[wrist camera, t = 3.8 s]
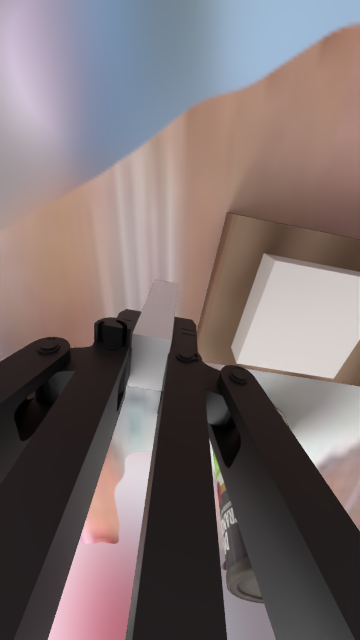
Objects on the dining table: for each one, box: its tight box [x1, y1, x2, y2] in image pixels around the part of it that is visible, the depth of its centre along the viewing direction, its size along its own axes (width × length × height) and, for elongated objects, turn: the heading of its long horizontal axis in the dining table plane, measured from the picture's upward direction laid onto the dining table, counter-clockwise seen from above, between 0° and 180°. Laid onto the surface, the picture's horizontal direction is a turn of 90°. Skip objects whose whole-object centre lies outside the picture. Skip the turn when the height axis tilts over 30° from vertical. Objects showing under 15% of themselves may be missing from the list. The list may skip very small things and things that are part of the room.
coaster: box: [231, 253, 360, 379], centre depth 16 cm, size 8×8×2 cm
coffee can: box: [213, 409, 289, 603], centre depth 24 cm, size 10×10×14 cm
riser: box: [197, 213, 360, 386], centre depth 19 cm, size 18×12×4 cm, turn 80°
